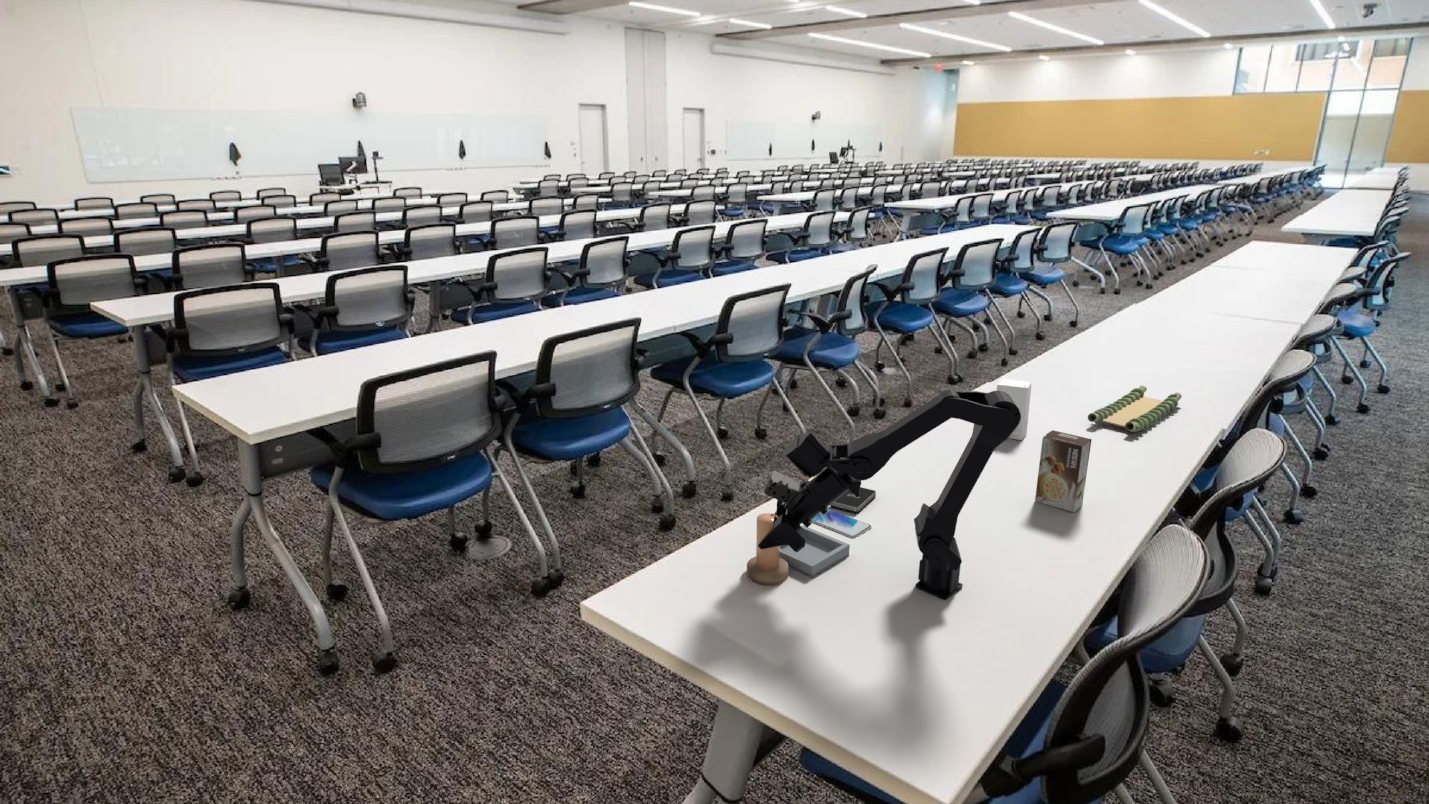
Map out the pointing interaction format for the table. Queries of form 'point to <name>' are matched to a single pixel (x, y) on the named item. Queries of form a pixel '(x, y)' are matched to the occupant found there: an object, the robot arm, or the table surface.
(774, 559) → the peach stamp handle
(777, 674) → the table surface
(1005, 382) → the skincare box
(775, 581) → the brown stone
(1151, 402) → the stretcher
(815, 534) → the tray
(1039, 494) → the coffee box
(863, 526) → the smartphone
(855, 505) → the external hard drive
